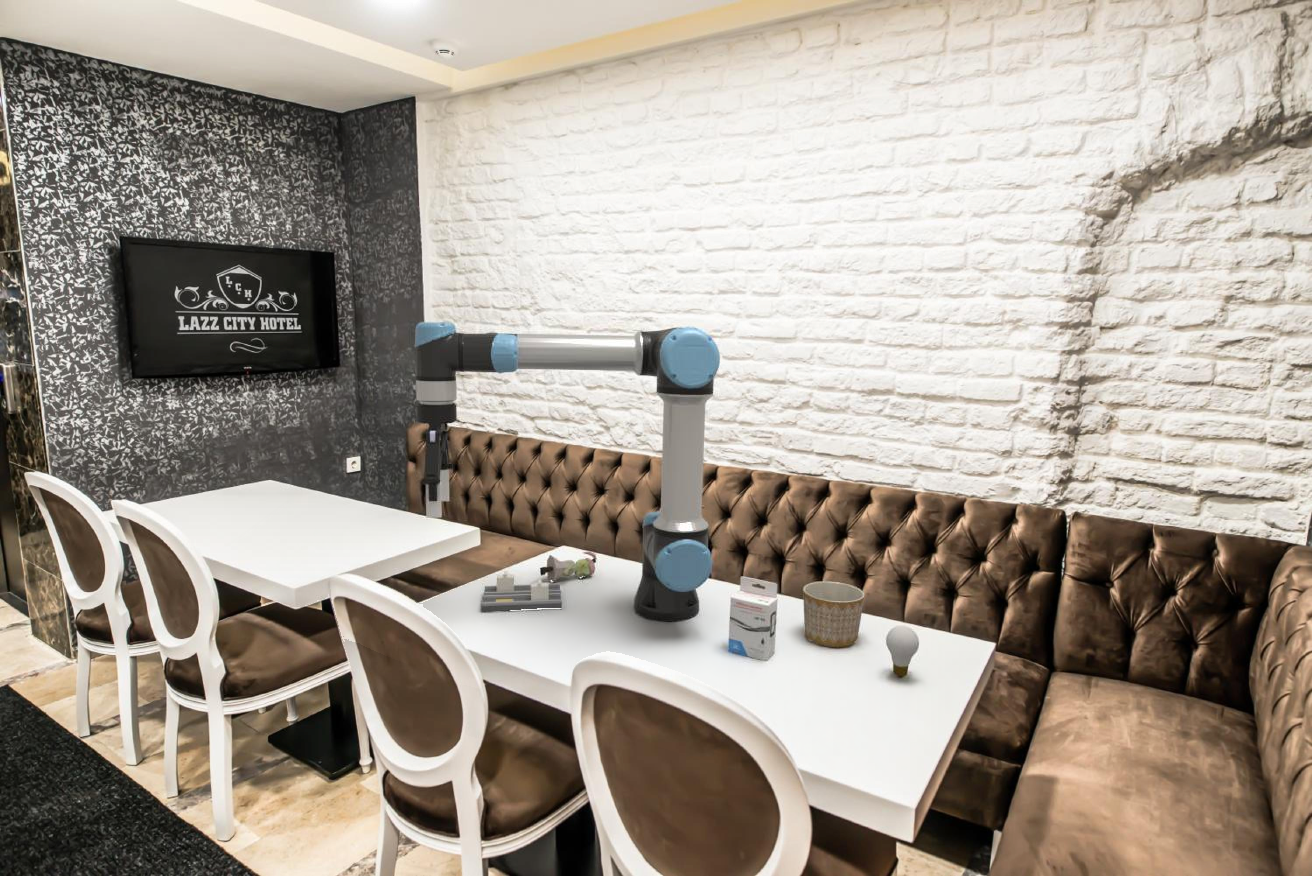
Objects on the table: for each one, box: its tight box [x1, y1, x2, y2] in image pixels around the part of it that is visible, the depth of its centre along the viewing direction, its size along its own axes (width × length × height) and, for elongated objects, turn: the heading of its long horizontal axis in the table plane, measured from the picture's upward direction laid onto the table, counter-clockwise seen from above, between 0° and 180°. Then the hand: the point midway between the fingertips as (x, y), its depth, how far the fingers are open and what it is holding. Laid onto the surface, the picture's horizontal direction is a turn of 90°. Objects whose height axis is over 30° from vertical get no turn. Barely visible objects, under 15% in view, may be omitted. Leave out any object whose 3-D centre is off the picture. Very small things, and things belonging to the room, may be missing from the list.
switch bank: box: [481, 582, 563, 613], centre depth 177 cm, size 18×12×2 cm, turn 99°
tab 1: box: [496, 570, 515, 592], centre depth 179 cm, size 4×2×4 cm, turn 99°
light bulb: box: [885, 625, 920, 679], centre depth 142 cm, size 6×6×10 cm
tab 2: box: [530, 579, 549, 601], centre depth 174 cm, size 4×2×4 cm, turn 99°
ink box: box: [727, 575, 779, 662], centre depth 151 cm, size 8×5×15 cm, turn 60°
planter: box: [802, 580, 865, 648], centre depth 159 cm, size 13×13×10 cm
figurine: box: [539, 551, 597, 583], centre depth 194 cm, size 9×7×15 cm
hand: (438, 508), depth 149 cm, fingers open, 13 cm apart
